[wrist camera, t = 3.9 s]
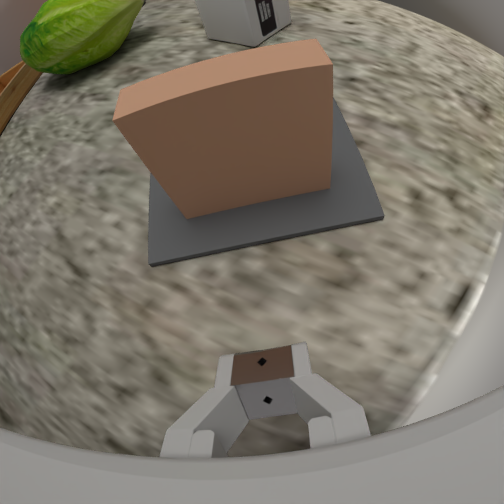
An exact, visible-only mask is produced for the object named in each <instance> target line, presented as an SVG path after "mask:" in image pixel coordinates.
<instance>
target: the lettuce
mask: <svg viewBox="0 0 504 504" xmlns="http://www.w3.org/2000/svg"><path fill="white" fill-rule="evenodd" d="M143 3H144V0H48V1H47V2H45V3H43V5H42V6H41V8H40V10H39V11H38V13H37V15H36V16H35V18H34V19H33V20H32V21H31V23H30V24H29V25H28V26H27V27H26V28H25V30H24V32H23V33H22V35H21V37H20V54H21V57H22V59H23V61H24V62H25V64H27V65H28V66H30V67H31V68H33V69H35V70H36V71H38V72H45V73H53V74H71V73H74V72H76V71H79V70H81V69H83V68H86V67H88V66H91V65H93V64H96V63H98V62H100V61H102V60H104V59H106V58H109V57H110V56H111V55H112V54H113V53H115V52H116V51H117V50H118V49H119V48H120V46H121V45H122V43H123V42H124V40H125V39H126V37H127V36H128V34H129V32H130V29H131V27H132V25H133V22H134V20H135V18H136V16H137V15H138V13H139V11H140V10H141V7H142V5H143Z"/></svg>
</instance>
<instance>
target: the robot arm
mask: <svg viewBox="0 0 504 504" xmlns="http://www.w3.org/2000/svg"><path fill="white" fill-rule="evenodd" d="M295 413H298V415H299V416H300V417H301V418H302V419H303V420H304V421H305V422H306V423H307V424H308V427H309V438H310V448H311V449H306V450H299V451H292V452H285V453H277V454H267V455H257V456H244V457H229V456H228V455H227V452H228V450H229V449H230V447H231V446H232V445H233V443H234V442H235V440H236V439H237V438H238V436H239V435H240V433H241V432H242V430H243V429H244V428H245V426H246V425H247V423H248V422H249V420H250V419H258V418H265V417H271V416H280V415H288V414H295ZM0 504H504V385H503V386H501V387H499V388H497V389H496V390H493V391H491V392H489V393H487V394H485V395H483V396H481V397H479V398H476V399H474V400H472V401H470V402H468V403H465V404H463V405H461V406H458V407H456V408H453V409H451V410H449V411H446V412H443V413H441V414H438V415H436V416H433V417H430V418H427V419H424V420H422V421H419V422H416V423H413V424H410V425H407V426H403V427H400V428H397V429H394V430H390V431H387V432H383V433H380V434H376V435H372V436H371V434H370V430H369V427H368V423H367V420H366V416H365V413H364V409H363V407H362V406H361V405H360V404H358V403H357V402H355V401H354V400H353V399H351V398H350V397H348V396H347V395H346V394H344V393H343V392H341V391H340V390H339V389H337V388H336V387H335V386H333V385H332V384H330V383H329V382H328V381H326V380H325V379H324V378H322V377H321V376H320V375H318V374H317V373H314V374H312V371H311V365H310V360H309V354H308V348H307V343H306V342H301V343H296V344H292V345H288V346H282V347H277V348H271V349H265V350H258V351H250V352H243V353H235V354H228V355H221V356H220V358H219V362H218V368H217V373H216V379H215V385H214V388H210V389H209V390H208V391H207V392H206V393H205V394H204V395H203V396H202V397H201V398H200V399H199V400H198V401H197V402H196V403H194V404H193V405H192V406H191V407H190V408H189V409H188V410H187V411H186V412H185V413H184V414H183V415H182V416H181V417H180V418H179V419H178V420H177V421H176V422H175V423H173V424H172V425H171V426H170V427H169V428H168V429H167V431H166V434H165V438H164V442H163V445H162V449H161V453H160V456H159V457H149V456H137V455H126V454H117V453H109V452H102V451H96V450H89V449H83V448H78V447H73V446H68V445H63V444H58V443H54V442H49V441H45V440H41V439H37V438H33V437H30V436H26V435H22V434H19V433H16V432H12V431H9V430H6V429H4V428H1V427H0Z"/></svg>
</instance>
